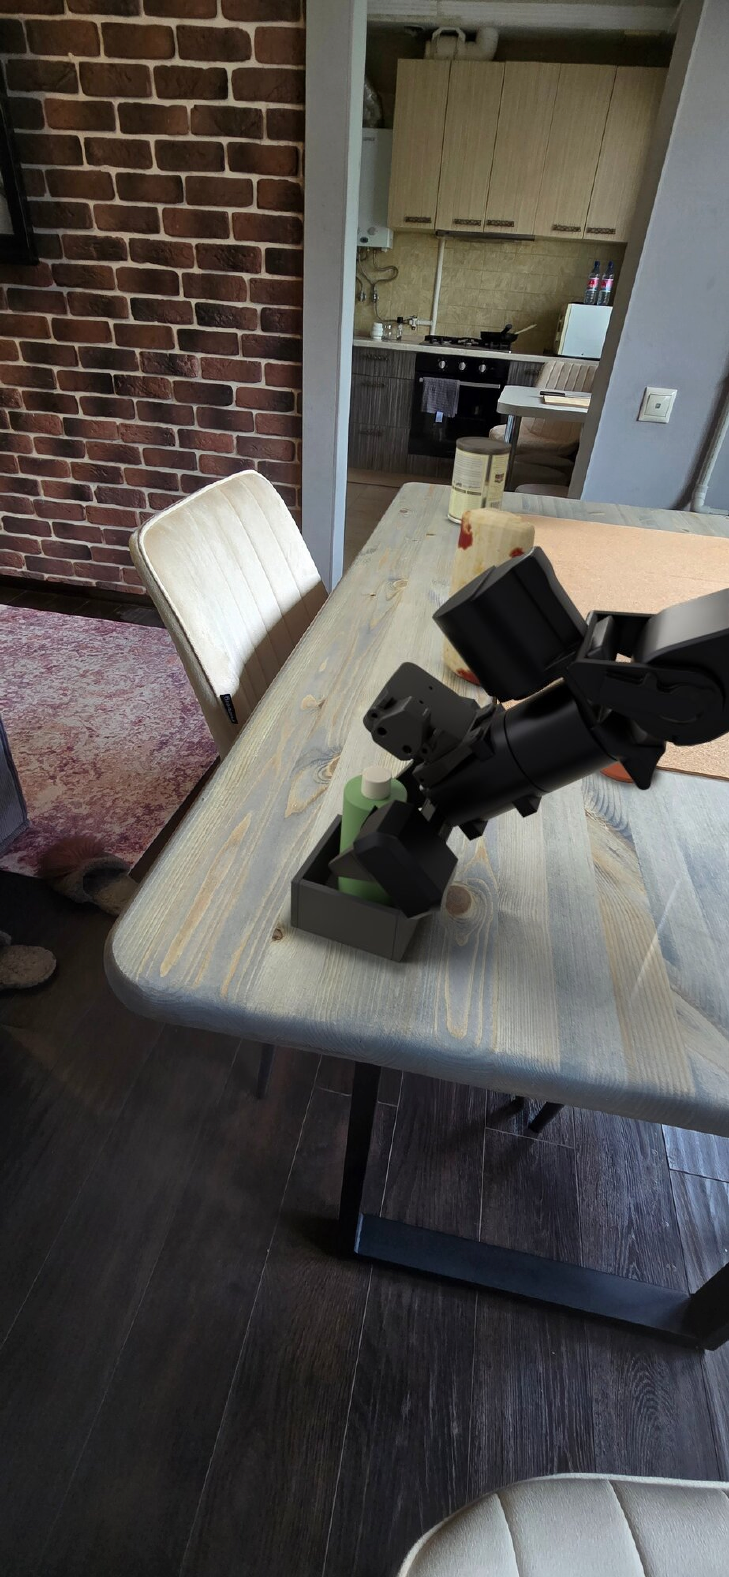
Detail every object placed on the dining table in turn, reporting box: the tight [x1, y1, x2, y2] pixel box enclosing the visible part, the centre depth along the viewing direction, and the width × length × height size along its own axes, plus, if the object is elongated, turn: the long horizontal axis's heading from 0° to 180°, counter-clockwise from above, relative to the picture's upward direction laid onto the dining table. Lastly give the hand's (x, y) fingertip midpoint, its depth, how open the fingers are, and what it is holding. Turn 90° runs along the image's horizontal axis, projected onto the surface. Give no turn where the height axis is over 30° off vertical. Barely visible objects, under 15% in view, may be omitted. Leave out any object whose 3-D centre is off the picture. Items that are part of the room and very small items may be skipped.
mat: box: [599, 762, 634, 784], centre depth 76 cm, size 6×6×1 cm
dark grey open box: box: [290, 813, 421, 964], centre depth 56 cm, size 9×9×5 cm
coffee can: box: [447, 436, 513, 525], centre depth 142 cm, size 10×10×14 cm
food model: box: [442, 507, 536, 686], centre depth 85 cm, size 10×7×20 cm
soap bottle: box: [338, 765, 407, 908], centre depth 54 cm, size 4×4×12 cm
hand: (353, 837), depth 54 cm, fingers open, 7 cm apart
